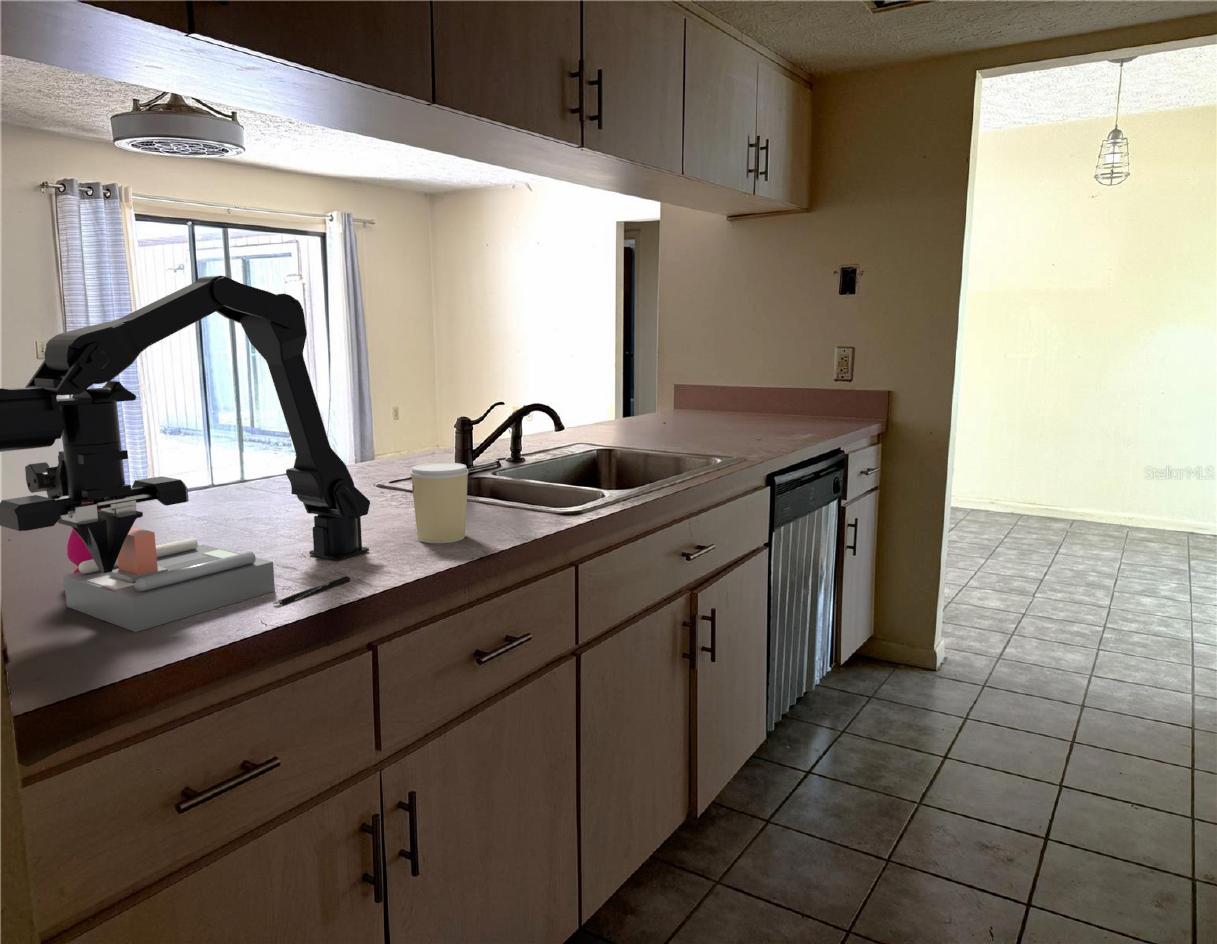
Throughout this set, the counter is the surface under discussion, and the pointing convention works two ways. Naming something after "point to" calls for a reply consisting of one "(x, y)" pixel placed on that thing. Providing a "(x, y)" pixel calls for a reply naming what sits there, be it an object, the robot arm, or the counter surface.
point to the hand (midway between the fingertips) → (106, 572)
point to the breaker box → (170, 586)
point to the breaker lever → (137, 556)
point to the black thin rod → (312, 591)
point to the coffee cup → (440, 501)
